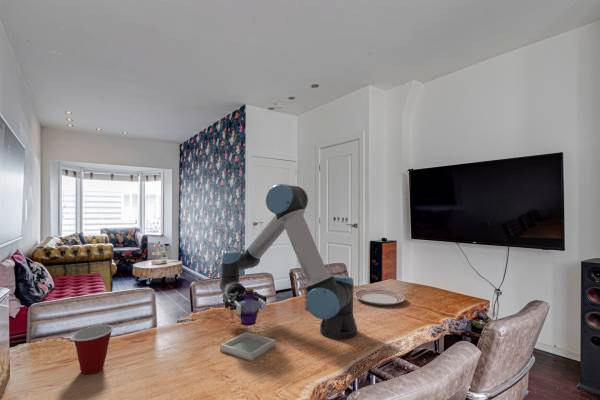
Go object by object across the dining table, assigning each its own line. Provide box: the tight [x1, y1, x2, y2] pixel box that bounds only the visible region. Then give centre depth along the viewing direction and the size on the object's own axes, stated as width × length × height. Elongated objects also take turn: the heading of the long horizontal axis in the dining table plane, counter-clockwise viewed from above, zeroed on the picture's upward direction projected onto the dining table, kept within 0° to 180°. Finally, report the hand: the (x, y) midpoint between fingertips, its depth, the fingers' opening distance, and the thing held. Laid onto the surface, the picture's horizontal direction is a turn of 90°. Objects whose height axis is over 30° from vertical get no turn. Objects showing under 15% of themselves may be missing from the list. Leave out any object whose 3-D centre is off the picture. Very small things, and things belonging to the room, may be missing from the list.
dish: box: [219, 331, 277, 362], centre depth 115 cm, size 14×14×2 cm
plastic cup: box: [70, 324, 114, 376], centre depth 98 cm, size 11×11×12 cm
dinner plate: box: [354, 288, 406, 306], centre depth 179 cm, size 27×27×3 cm
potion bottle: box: [236, 288, 261, 327], centre depth 115 cm, size 9×9×12 cm
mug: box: [303, 280, 309, 312], centre depth 163 cm, size 13×9×14 cm
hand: (252, 308), depth 111 cm, fingers closed on potion bottle, 8 cm apart
